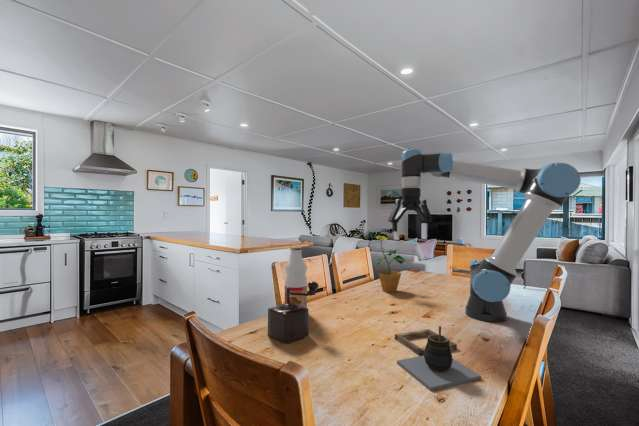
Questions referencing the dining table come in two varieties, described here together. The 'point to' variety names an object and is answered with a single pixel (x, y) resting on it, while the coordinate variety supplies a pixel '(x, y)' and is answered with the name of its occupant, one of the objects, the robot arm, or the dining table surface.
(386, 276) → the potted plant
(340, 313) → the dining table surface
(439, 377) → the charcoal mat
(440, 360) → the mate gourd
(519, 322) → the dining table surface
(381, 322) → the dining table surface
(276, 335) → the pepper mill
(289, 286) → the fruit juice
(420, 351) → the frame
